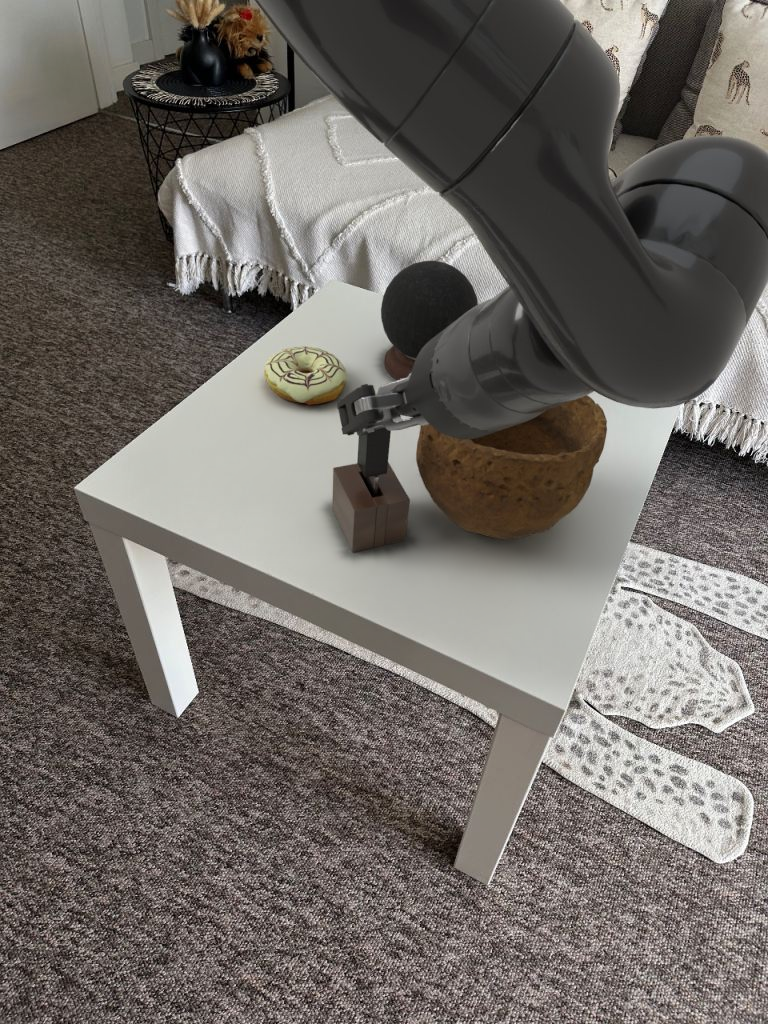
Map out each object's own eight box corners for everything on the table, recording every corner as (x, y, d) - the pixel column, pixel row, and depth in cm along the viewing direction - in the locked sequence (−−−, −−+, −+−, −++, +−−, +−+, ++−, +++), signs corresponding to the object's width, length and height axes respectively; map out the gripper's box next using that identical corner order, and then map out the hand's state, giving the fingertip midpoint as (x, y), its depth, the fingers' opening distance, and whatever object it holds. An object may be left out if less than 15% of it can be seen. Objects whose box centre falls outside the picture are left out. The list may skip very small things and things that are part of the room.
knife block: (352, 552, 74) (354, 511, 70) (332, 508, 79) (333, 467, 75) (405, 540, 76) (410, 499, 72) (382, 498, 81) (386, 457, 76)
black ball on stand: (464, 344, 107) (480, 247, 96) (473, 394, 97) (491, 291, 87) (376, 339, 106) (383, 241, 96) (377, 389, 96) (384, 285, 86)
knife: (362, 536, 76) (369, 418, 65) (353, 517, 78) (359, 400, 67) (382, 531, 77) (393, 414, 66) (373, 513, 79) (382, 397, 68)
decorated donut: (304, 420, 90) (304, 395, 88) (249, 384, 95) (247, 360, 93) (360, 388, 96) (361, 364, 94) (306, 357, 101) (306, 333, 99)
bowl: (444, 440, 89) (461, 335, 79) (590, 490, 84) (628, 384, 74) (379, 533, 76) (389, 422, 66) (547, 598, 71) (586, 488, 61)
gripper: (576, 299, 46) (473, 360, 62) (371, 324, 42) (315, 383, 57) (598, 412, 46) (490, 444, 62) (396, 448, 42) (334, 473, 58)
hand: (406, 415), depth 60 cm, fingers open, 8 cm apart
